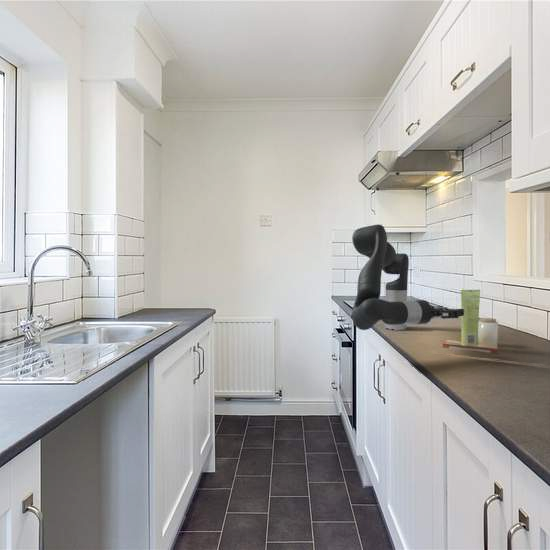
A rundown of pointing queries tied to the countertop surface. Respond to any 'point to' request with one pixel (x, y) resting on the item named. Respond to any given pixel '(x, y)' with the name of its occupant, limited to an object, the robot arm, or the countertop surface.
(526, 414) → the countertop surface
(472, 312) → the tube
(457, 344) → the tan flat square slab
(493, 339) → the jar
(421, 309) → the robot arm
